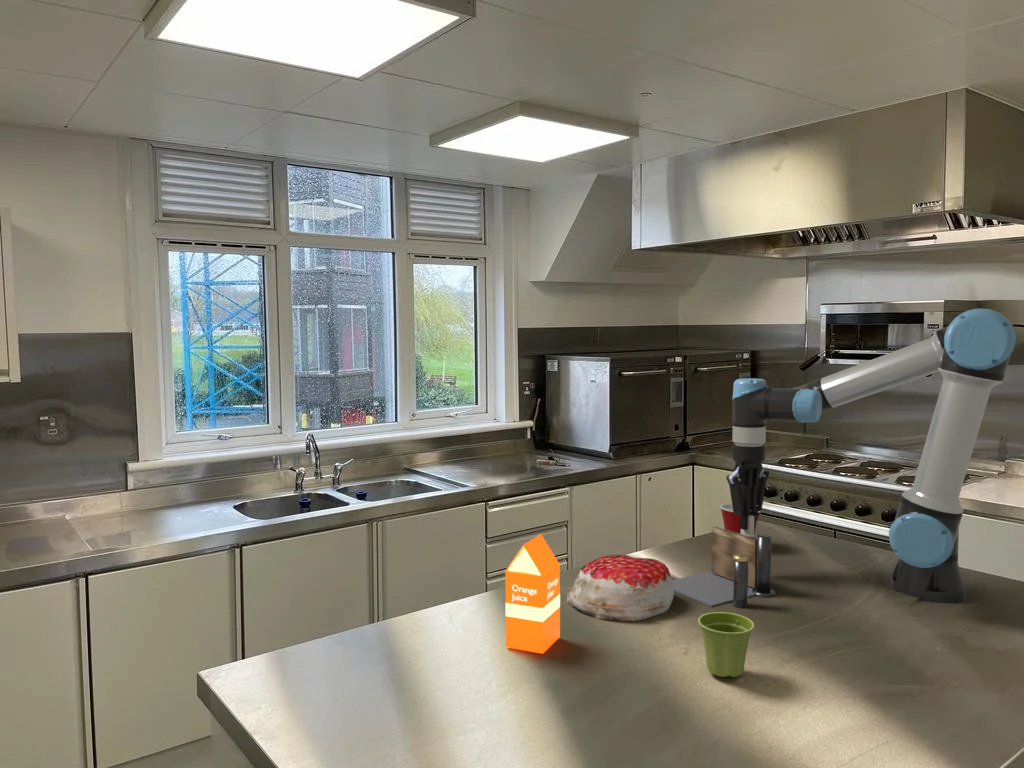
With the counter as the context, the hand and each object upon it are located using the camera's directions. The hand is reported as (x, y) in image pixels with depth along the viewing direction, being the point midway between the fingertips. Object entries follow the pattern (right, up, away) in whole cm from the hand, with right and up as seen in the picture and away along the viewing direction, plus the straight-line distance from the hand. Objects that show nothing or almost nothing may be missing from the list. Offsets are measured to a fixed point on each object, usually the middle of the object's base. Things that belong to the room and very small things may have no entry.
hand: (747, 542), depth 184 cm
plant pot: (-19, -12, -50) cm, 54 cm away
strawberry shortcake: (-32, -10, -14) cm, 37 cm away
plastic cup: (+5, -7, +23) cm, 25 cm away
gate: (-4, -8, -3) cm, 10 cm away
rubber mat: (-10, -9, -7) cm, 16 cm away
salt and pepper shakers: (-3, -10, -14) cm, 17 cm away
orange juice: (-52, -12, -36) cm, 64 cm away
